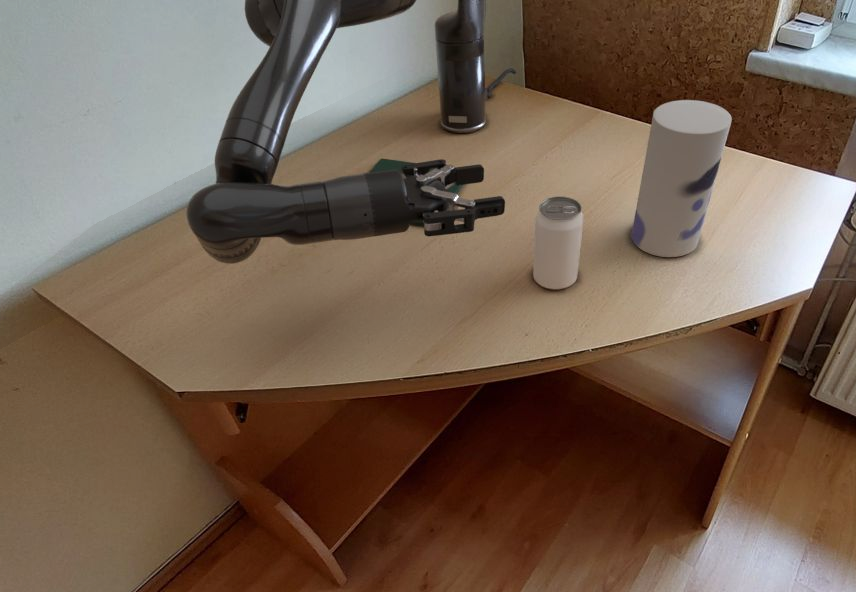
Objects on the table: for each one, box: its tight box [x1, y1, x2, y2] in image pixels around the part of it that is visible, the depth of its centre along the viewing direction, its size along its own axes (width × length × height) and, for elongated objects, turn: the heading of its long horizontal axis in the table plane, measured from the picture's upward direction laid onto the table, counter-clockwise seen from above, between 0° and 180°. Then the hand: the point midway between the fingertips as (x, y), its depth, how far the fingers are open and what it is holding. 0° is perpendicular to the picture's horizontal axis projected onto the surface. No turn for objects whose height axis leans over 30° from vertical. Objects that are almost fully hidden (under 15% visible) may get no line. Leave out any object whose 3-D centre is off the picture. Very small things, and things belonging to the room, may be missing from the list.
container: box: [631, 99, 733, 258], centre depth 89 cm, size 10×10×20 cm
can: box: [532, 195, 584, 291], centre depth 87 cm, size 6×6×12 cm
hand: (493, 188), depth 78 cm, fingers open, 8 cm apart
